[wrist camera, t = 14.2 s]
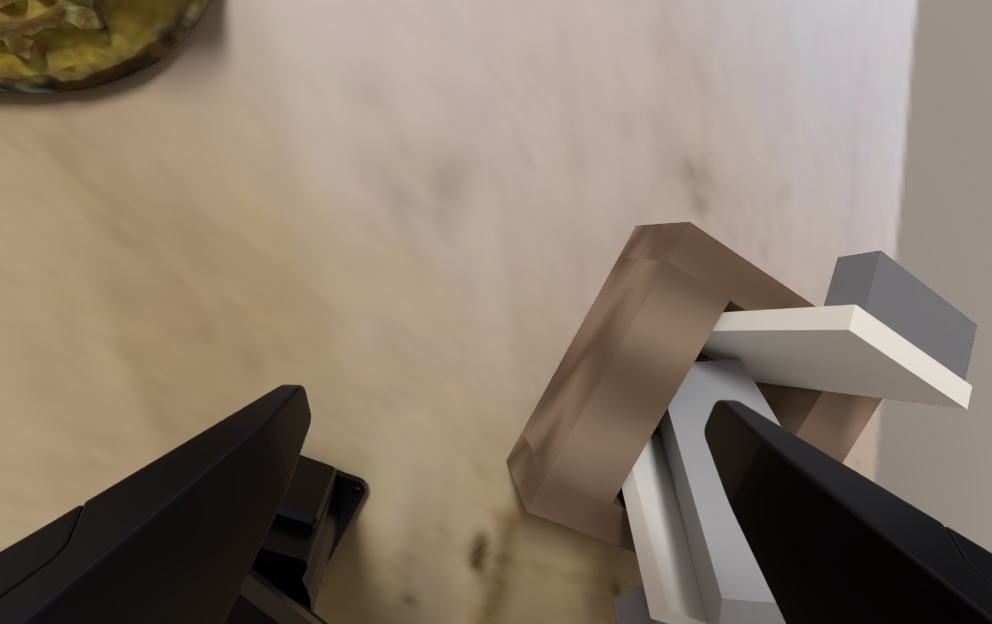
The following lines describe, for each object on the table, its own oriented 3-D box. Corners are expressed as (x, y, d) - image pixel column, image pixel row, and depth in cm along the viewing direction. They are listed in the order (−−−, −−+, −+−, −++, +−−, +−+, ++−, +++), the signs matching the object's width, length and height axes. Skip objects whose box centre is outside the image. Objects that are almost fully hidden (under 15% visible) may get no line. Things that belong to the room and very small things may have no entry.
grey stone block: (657, 419, 24) (715, 659, 14) (655, 364, 22) (722, 598, 12) (735, 417, 23) (858, 675, 13) (740, 358, 21) (892, 611, 11)
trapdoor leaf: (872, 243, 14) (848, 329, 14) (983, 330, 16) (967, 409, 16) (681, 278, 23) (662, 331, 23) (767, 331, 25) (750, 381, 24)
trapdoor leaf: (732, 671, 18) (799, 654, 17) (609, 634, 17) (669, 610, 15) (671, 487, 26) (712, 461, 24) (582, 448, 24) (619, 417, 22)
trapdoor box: (703, 540, 27) (757, 598, 23) (506, 460, 23) (526, 511, 19) (822, 344, 26) (903, 365, 22) (636, 225, 22) (689, 221, 18)
